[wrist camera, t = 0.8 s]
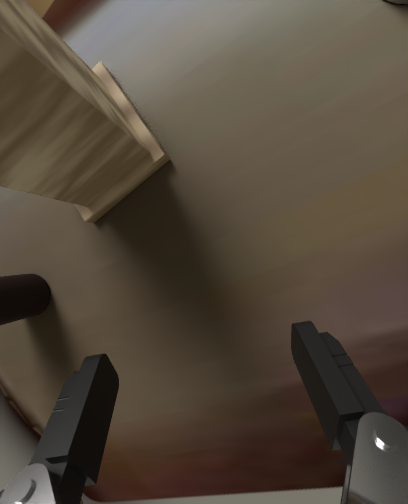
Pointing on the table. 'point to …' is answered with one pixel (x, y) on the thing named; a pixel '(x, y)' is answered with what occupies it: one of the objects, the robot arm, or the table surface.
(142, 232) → the table surface
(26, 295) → the bottle
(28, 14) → the post
